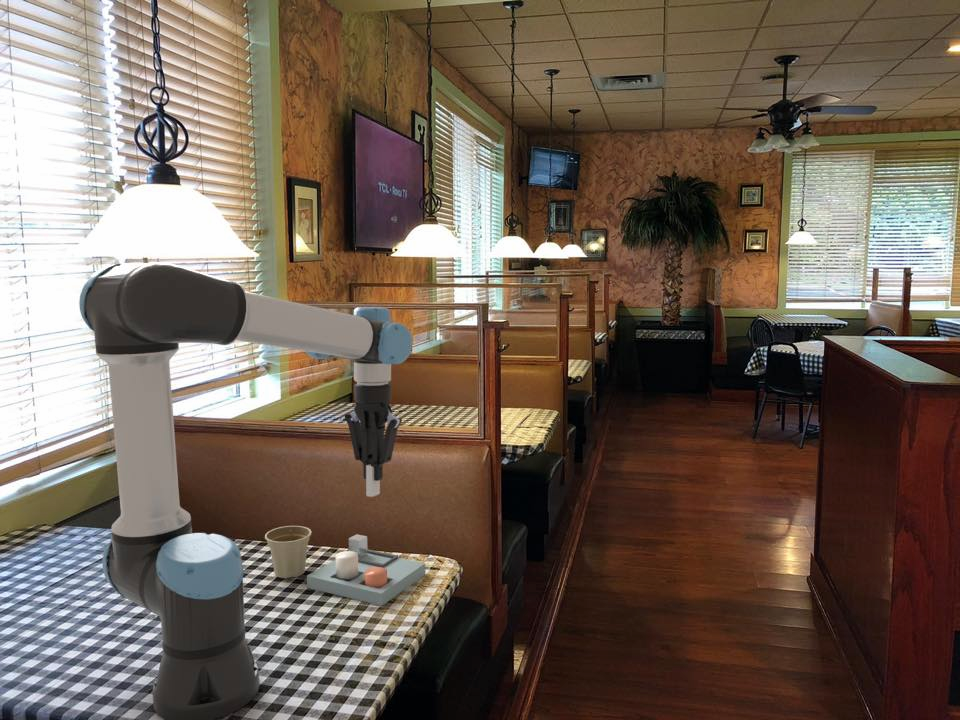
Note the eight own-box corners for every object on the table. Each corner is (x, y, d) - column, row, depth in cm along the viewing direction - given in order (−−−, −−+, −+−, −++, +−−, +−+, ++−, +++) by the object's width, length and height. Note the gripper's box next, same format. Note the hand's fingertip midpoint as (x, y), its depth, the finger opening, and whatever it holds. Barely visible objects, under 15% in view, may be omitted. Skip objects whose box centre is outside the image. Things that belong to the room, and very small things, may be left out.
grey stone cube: (359, 558, 157) (359, 540, 157) (349, 556, 159) (348, 538, 158) (367, 554, 160) (367, 536, 159) (356, 552, 161) (356, 534, 161)
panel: (381, 605, 141) (381, 590, 141) (307, 587, 149) (306, 573, 149) (425, 574, 155) (425, 560, 155) (355, 559, 164) (354, 546, 163)
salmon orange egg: (379, 597, 144) (378, 577, 143) (360, 593, 146) (360, 573, 145) (391, 588, 148) (391, 569, 147) (373, 584, 150) (373, 565, 149)
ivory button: (349, 580, 147) (348, 561, 146) (331, 576, 149) (331, 557, 148) (362, 572, 150) (362, 553, 150) (345, 568, 152) (344, 549, 152)
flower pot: (306, 582, 152) (305, 541, 151) (260, 582, 152) (258, 541, 151) (317, 564, 161) (316, 525, 160) (274, 564, 161) (272, 525, 160)
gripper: (409, 382, 153) (409, 494, 155) (357, 378, 159) (358, 486, 161) (388, 387, 146) (388, 504, 149) (335, 382, 152) (336, 494, 154)
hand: (373, 494), depth 155 cm, fingers closed
